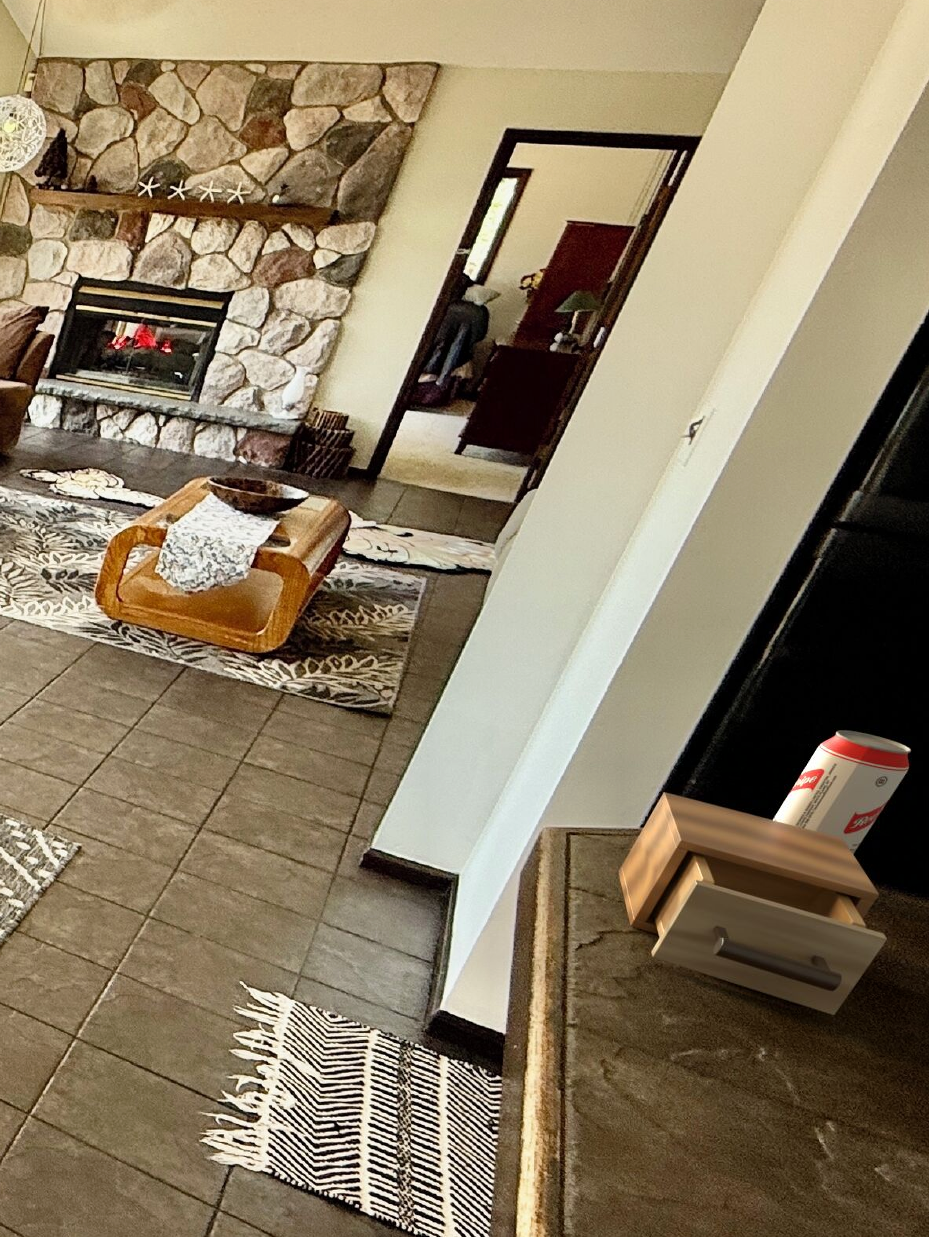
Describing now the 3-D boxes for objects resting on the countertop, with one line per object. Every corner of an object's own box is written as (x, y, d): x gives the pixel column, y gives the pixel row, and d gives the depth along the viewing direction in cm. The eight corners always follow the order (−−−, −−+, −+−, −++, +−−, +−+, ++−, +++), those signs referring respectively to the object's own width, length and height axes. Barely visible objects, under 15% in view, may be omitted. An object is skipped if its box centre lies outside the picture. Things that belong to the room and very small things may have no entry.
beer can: (835, 881, 125) (923, 747, 119) (825, 896, 122) (915, 758, 115) (753, 854, 130) (833, 723, 123) (741, 868, 126) (823, 734, 120)
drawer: (847, 1042, 96) (903, 964, 93) (658, 980, 102) (704, 905, 99) (803, 951, 109) (851, 880, 106) (638, 901, 116) (678, 833, 112)
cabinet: (818, 984, 105) (879, 894, 102) (630, 926, 113) (680, 839, 109) (788, 922, 116) (843, 838, 112) (618, 872, 123) (663, 791, 119)
